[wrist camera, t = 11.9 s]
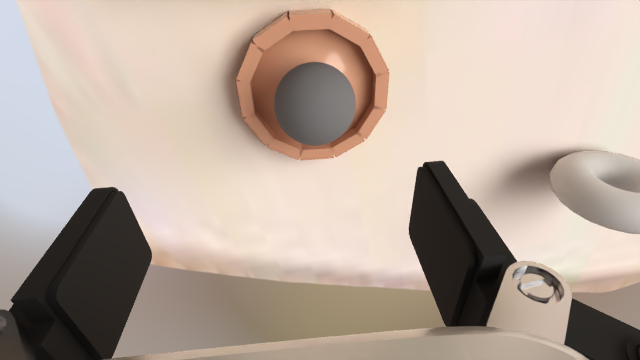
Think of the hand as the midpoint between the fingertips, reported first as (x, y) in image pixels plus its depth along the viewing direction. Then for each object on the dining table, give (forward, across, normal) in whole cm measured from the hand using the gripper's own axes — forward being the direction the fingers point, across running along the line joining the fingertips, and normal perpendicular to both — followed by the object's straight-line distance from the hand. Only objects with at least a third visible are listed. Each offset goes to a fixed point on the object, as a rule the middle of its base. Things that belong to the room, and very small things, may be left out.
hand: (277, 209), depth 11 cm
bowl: (+19, -2, +3) cm, 19 cm away
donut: (+19, -28, +12) cm, 36 cm away
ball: (+15, -2, +3) cm, 16 cm away
